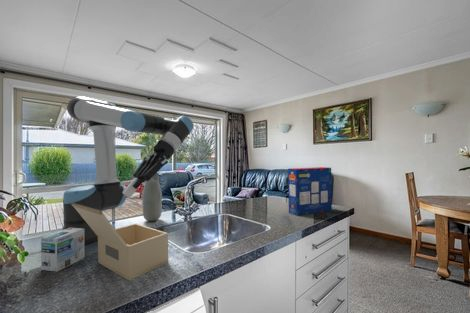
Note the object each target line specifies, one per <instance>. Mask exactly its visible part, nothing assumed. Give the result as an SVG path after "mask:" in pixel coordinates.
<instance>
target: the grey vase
mask: <svg viewBox="0 0 470 313" xmlns="http://www.w3.org/2000/svg"><path fill="white" fill-rule="evenodd" d="M141 194H142V197H141V198H142V199H141V201H142V216H143V219H144V220H145V221H148V222H156V221H158V220H160V218H161V216H162V211H163V208H162V207H163V205H162V204H163V201H162V200H163V192H162V188H161V184H160V174H159V173H158V172H157V173H156V174H155V175H154V176H153V177H152V178H151V179H150V180H149V181H145V182H144V186H143V190H142V193H141Z"/></svg>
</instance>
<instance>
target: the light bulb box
mask: <svg viewBox="0 0 470 313" xmlns="http://www.w3.org/2000/svg"><path fill="white" fill-rule="evenodd" d="M40 239H41V240H40V244H41V246H40V248H41V250H40V252H41V253H40V254H41V255H40V256H41V271H48V272H56V273H57V272H60V271H62V270H63V269H66V268H68V267H69V266H71V265H73V264H75V263H77V262H79V261H82V260H84V259H85V251H86V250H85V246H86V244H85V242H84V229H81V228H67V229H65V230H62V229H61V230H58V231H56V232H54V233H51V234H48V235H44V236H42V237H40Z"/></svg>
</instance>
